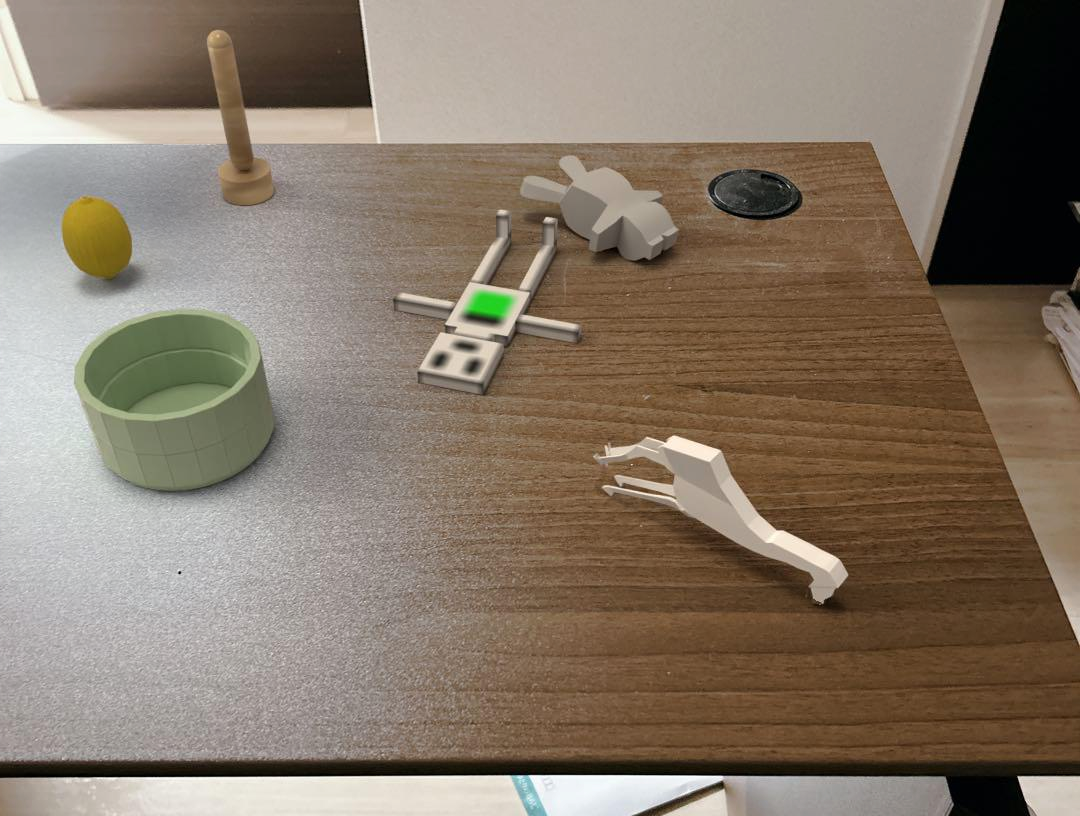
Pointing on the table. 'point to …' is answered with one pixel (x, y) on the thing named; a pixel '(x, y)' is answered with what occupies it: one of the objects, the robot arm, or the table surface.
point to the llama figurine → (722, 505)
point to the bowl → (176, 398)
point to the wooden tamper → (236, 130)
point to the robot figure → (486, 317)
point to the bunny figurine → (607, 210)
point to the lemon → (96, 237)
